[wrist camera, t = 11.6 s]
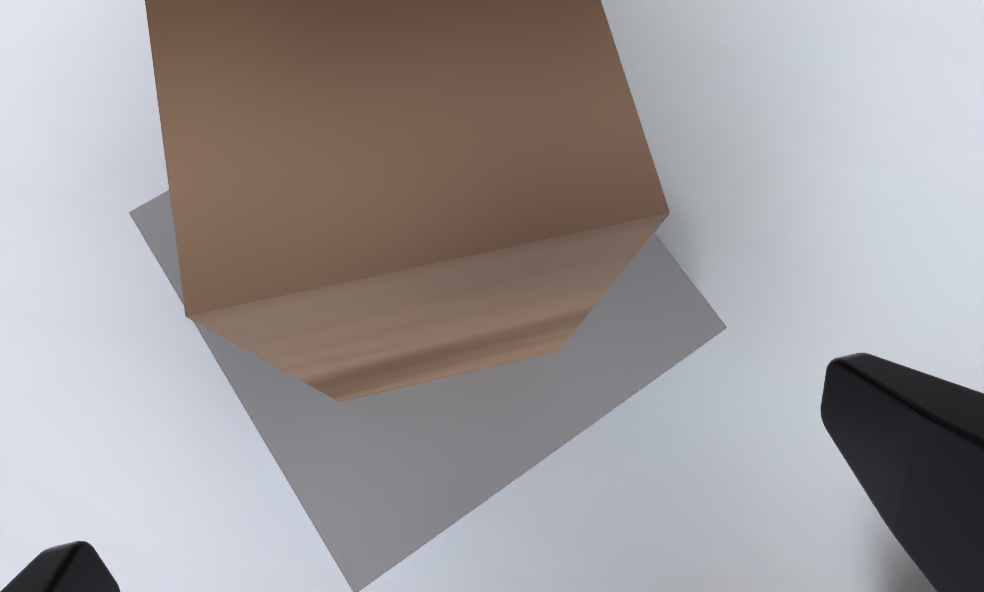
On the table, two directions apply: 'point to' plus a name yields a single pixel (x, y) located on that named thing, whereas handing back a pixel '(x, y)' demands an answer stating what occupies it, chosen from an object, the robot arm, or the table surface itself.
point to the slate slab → (449, 411)
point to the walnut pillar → (398, 179)
